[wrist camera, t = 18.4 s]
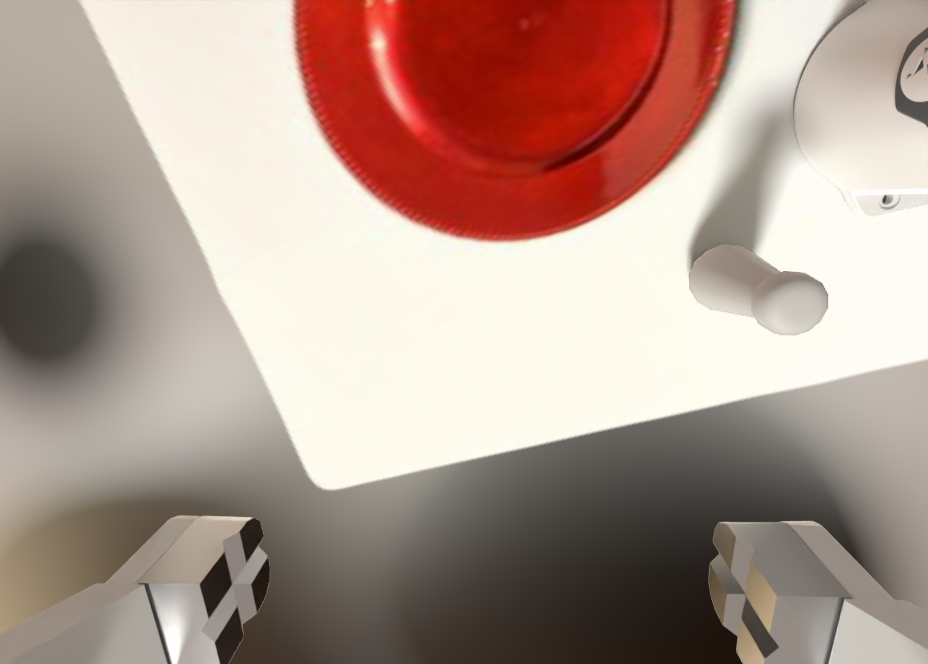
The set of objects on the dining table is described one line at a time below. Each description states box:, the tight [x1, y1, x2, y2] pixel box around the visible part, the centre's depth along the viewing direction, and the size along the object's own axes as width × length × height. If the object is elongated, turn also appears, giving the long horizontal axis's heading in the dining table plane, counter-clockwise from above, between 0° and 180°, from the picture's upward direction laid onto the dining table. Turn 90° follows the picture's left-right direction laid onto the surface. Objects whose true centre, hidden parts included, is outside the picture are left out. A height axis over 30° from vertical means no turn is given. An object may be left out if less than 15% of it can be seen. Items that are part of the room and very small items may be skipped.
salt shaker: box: [689, 244, 828, 335], centre depth 37 cm, size 6×6×13 cm
